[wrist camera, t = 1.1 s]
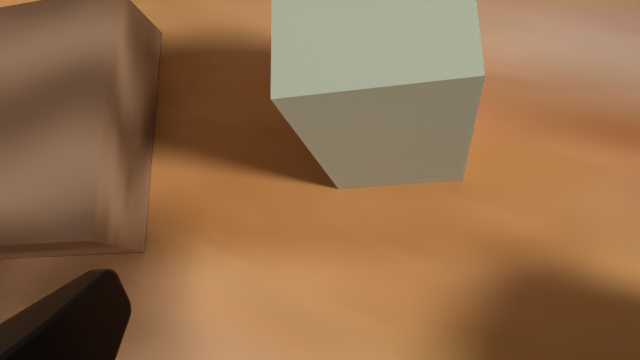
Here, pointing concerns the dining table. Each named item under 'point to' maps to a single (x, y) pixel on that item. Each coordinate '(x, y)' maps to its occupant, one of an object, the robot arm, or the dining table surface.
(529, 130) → the dining table surface
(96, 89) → the walnut base block
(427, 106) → the sage block
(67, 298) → the robot arm
